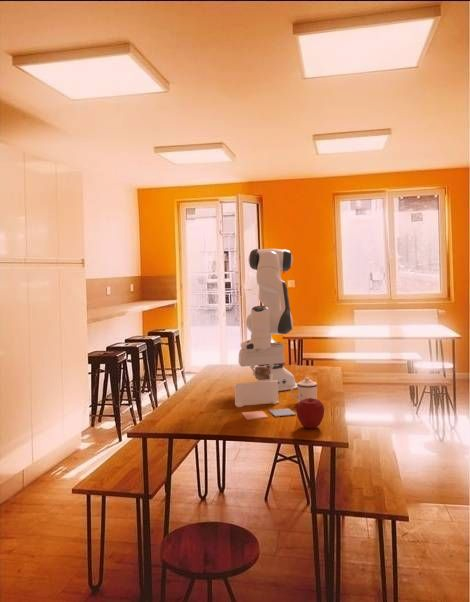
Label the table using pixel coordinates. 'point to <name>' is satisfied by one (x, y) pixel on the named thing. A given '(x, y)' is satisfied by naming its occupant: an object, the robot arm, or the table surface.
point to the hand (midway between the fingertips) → (262, 374)
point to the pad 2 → (282, 412)
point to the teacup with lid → (306, 390)
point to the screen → (256, 393)
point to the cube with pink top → (262, 373)
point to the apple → (310, 412)
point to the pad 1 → (254, 415)
